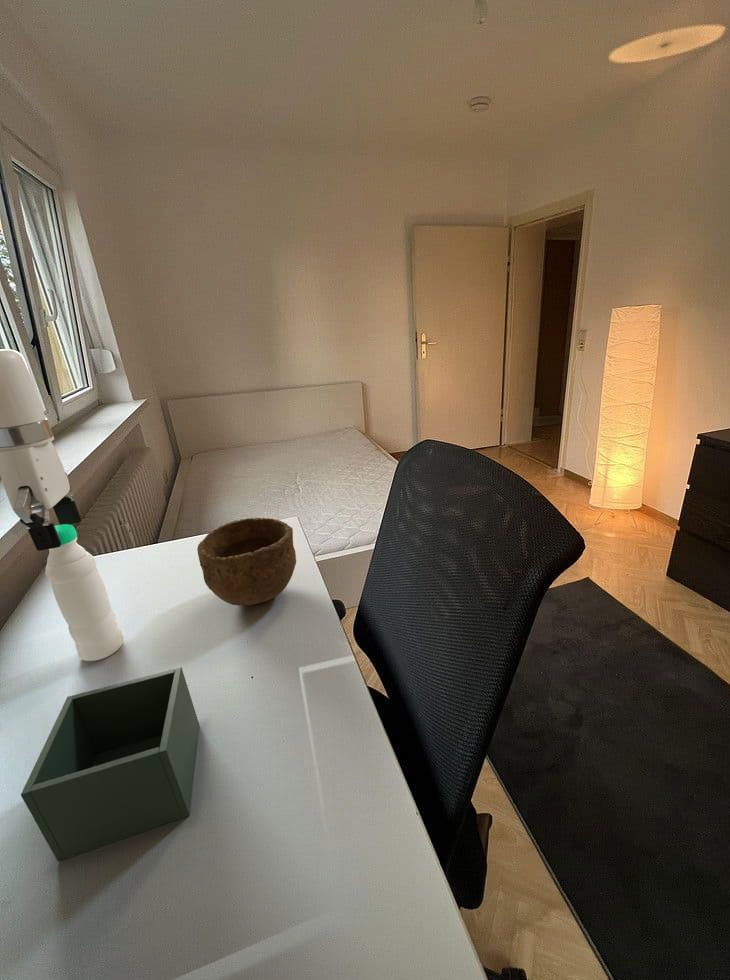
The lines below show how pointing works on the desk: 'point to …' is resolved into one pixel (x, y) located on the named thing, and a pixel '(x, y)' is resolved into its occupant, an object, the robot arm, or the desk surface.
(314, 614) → the desk surface
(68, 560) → the water bottle
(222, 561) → the bowl
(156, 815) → the green storage bin
